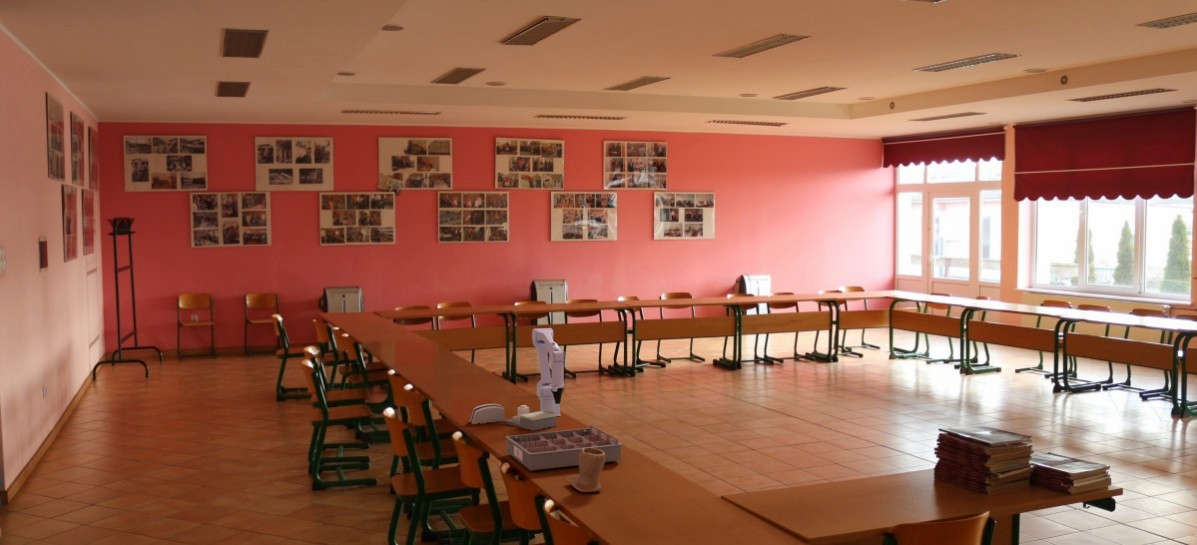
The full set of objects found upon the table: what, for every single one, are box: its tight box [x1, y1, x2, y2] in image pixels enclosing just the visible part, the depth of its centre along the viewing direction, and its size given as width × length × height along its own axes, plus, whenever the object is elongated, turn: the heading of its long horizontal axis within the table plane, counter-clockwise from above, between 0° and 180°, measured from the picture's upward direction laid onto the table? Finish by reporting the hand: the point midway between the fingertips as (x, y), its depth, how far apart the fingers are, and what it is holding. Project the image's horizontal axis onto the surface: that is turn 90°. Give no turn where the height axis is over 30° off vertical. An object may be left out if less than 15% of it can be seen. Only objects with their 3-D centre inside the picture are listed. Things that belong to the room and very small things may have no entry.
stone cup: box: [566, 447, 606, 493], centre depth 345 cm, size 15×12×15 cm
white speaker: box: [469, 403, 506, 425], centre depth 455 cm, size 17×5×10 cm, turn 117°
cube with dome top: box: [517, 404, 530, 418], centre depth 453 cm, size 4×4×7 cm
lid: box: [520, 410, 557, 421], centre depth 445 cm, size 14×10×2 cm
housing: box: [504, 415, 557, 432], centre depth 449 cm, size 14×22×4 cm, turn 42°
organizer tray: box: [504, 423, 623, 471], centre depth 387 cm, size 32×40×10 cm
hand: (557, 403), depth 453 cm, fingers closed
